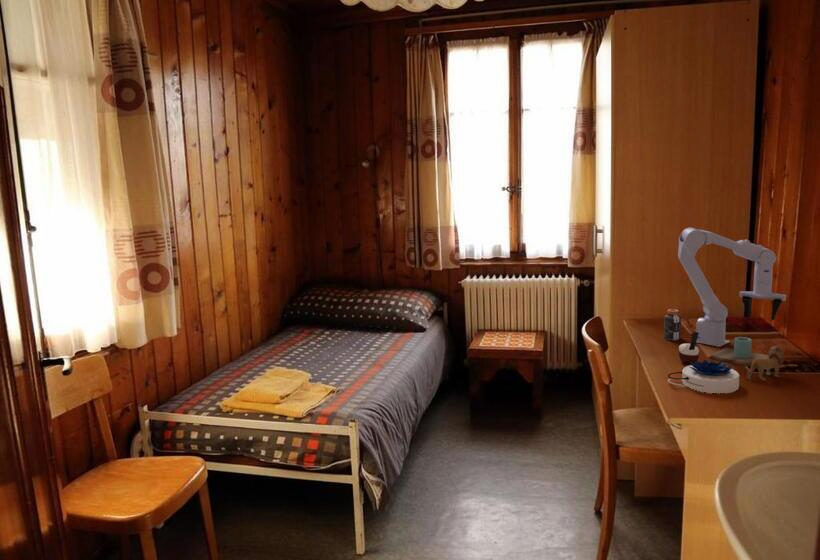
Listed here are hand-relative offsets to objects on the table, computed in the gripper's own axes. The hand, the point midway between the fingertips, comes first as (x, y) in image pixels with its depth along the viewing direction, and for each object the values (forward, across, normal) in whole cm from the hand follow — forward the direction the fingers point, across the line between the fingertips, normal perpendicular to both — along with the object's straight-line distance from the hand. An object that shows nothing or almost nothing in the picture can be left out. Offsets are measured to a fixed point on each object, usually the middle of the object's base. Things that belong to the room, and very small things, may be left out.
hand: (761, 318), depth 221 cm
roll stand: (+9, -1, -22) cm, 24 cm away
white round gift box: (+10, -5, -53) cm, 54 cm away
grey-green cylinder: (+8, -1, -22) cm, 24 cm away
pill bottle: (+10, -28, -9) cm, 31 cm away
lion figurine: (+10, +9, -37) cm, 39 cm away
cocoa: (+10, -14, -35) cm, 39 cm away
